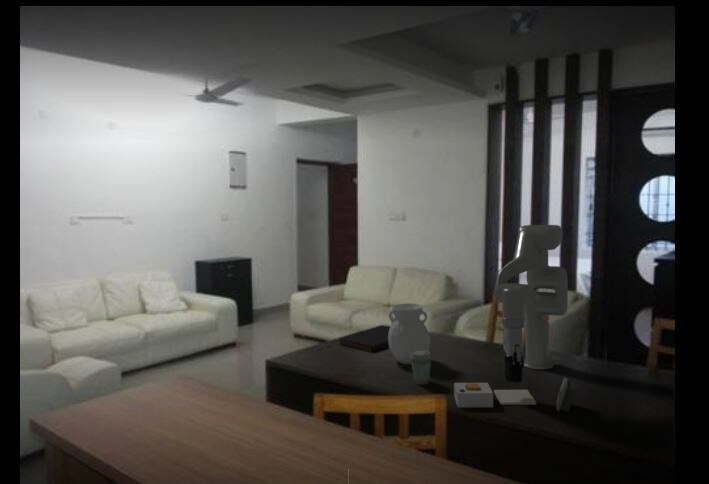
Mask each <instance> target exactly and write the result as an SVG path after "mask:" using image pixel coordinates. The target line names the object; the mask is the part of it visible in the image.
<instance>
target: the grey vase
mask: <svg viewBox="0 0 709 484" xmlns="http://www.w3.org/2000/svg"><path fill="white" fill-rule="evenodd" d="M423 308H424V307H423V306H422V305H420V304H419V303H401V304H395V305H393V306H392V310H391V311H390V312H389V314H388V318H389V320H390V322H391V324H390V326H389V327H390V329H389V333H388V343H389V347H388V348H389V350H390V353H391V354H392V355H393V357H394V359H396V360H397V361H398V362H399V363H400V364H403V365H412V363H411V358H410V355H411V352H412V351H414V350H427V351H430V348H431V347H430V346H431V345H430V344H431V339H430V333H429V330H428V327H427V326H426V324H425V323H426V321H427V320H428V314H427V312H426V311H424V310H423ZM422 315H423V316H424V319H422V320H421V319H420V316H422Z"/></svg>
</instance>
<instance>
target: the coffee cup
mask: <svg viewBox="0 0 709 484" xmlns="http://www.w3.org/2000/svg"><path fill="white" fill-rule="evenodd" d="M410 358H411V363H412V364H411V369H412V376H413V383H414V384H417V385H420V386H421V385H427V384H429V383H430V376H431V375H430V374H431V364H432V363H431V362H432V358H433V356H432V354H431V351H430V350H429V351H427V350H414V351H412V352H411V355H410Z"/></svg>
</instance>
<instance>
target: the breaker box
mask: <svg viewBox="0 0 709 484" xmlns="http://www.w3.org/2000/svg"><path fill="white" fill-rule="evenodd" d="M466 383H467V382H454V383H453V395H454V396H453V397H454V399H455V403H456V406H458V407H457V408H494V391H492V388H491V387H490V384H489V383H488V382H477V383H478V385H479V387H480V390H475V391H467V390H466Z"/></svg>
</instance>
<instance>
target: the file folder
mask: <svg viewBox="0 0 709 484" xmlns="http://www.w3.org/2000/svg"><path fill="white" fill-rule="evenodd" d="M389 329H390V326H386V325H385V326H384V325H380V326H375V327H373V328H368V329H366V330H363V331H359V332H355V333H352V334H349V335H345V336H342V337H339V338H338V340H339V341H338V342H339V344H342V345H341V346H343V345H346V346H345V347H347V346H349V347H348V348H352V347H353V348H352V349H356V348H357V349H356V350H360V349H361V350H360V351H363V350H365V351H364V352H368V353H371V352H372V353H373V352H374V353H375V352H378V351H382V350H385V349H388V348H389V343H388V333H389ZM372 353H371V354H372Z"/></svg>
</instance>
